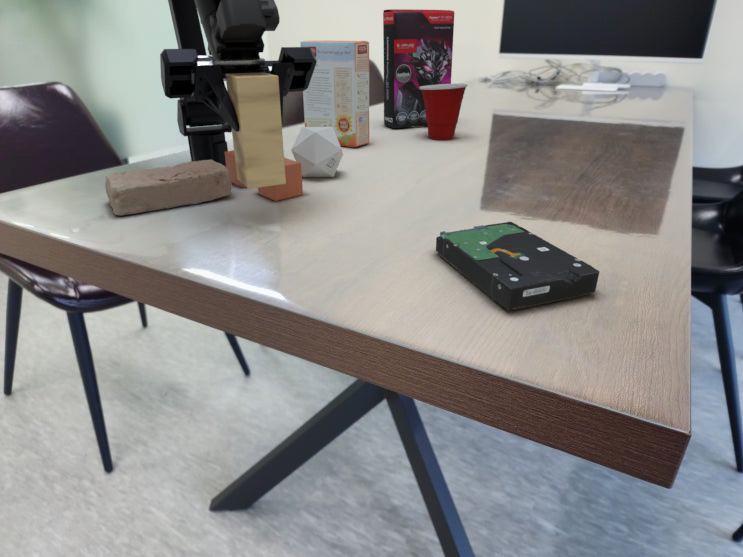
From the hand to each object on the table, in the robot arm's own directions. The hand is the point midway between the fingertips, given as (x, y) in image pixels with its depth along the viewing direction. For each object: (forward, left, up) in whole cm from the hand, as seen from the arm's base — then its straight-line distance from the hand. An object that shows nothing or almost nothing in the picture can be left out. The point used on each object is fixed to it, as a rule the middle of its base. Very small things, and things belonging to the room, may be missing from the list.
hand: (259, 127), depth 62 cm
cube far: (-16, +14, -12) cm, 25 cm away
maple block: (-1, +1, -7) cm, 7 cm away
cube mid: (-7, +11, -12) cm, 18 cm away
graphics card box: (-14, +78, -13) cm, 80 cm away
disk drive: (+32, +1, -13) cm, 34 cm away
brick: (-19, +1, -13) cm, 23 cm away
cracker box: (-20, +49, -13) cm, 54 cm away
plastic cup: (-2, +66, -13) cm, 67 cm away
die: (-8, +24, -13) cm, 28 cm away
